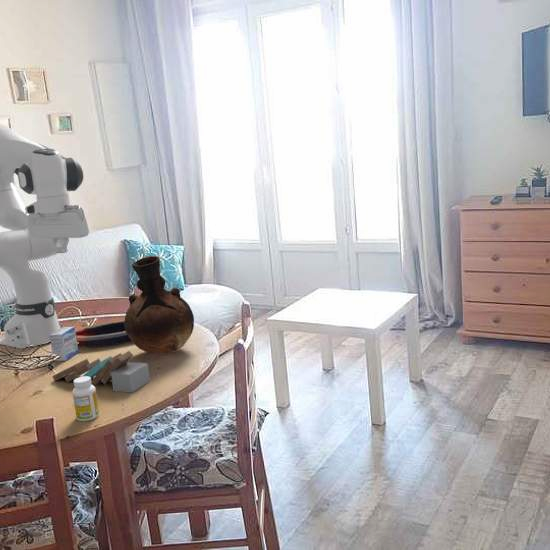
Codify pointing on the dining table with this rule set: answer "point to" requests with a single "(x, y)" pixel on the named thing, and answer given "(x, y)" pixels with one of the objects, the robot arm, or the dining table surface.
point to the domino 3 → (96, 368)
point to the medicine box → (64, 343)
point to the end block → (130, 377)
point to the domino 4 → (104, 370)
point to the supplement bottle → (85, 399)
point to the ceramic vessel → (157, 312)
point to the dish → (102, 335)
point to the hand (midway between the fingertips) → (61, 252)
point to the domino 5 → (116, 366)
